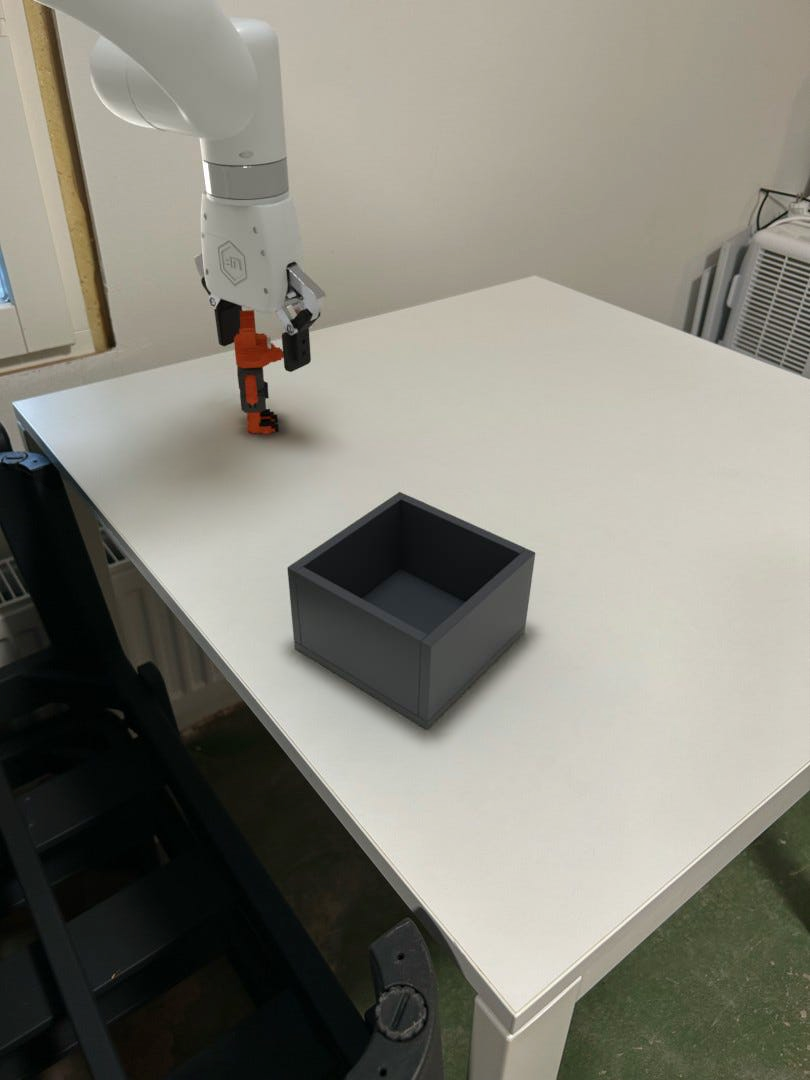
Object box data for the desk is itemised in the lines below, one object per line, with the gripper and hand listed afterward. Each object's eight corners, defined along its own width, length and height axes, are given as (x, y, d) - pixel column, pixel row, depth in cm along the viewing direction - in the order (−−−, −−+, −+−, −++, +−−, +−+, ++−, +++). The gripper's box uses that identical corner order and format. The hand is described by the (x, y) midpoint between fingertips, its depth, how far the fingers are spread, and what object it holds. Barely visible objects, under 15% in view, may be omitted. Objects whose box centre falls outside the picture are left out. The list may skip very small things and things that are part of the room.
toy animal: (296, 441, 87) (288, 333, 80) (244, 444, 87) (231, 336, 80) (293, 406, 94) (285, 303, 87) (244, 409, 93) (232, 306, 86)
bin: (294, 648, 62) (286, 567, 58) (398, 568, 70) (399, 491, 66) (427, 730, 56) (430, 646, 51) (525, 632, 64) (535, 552, 59)
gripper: (153, 171, 77) (181, 343, 87) (284, 203, 69) (298, 390, 79) (214, 157, 82) (234, 322, 92) (345, 186, 73) (350, 365, 84)
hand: (264, 354), depth 85 cm, fingers open, 9 cm apart
